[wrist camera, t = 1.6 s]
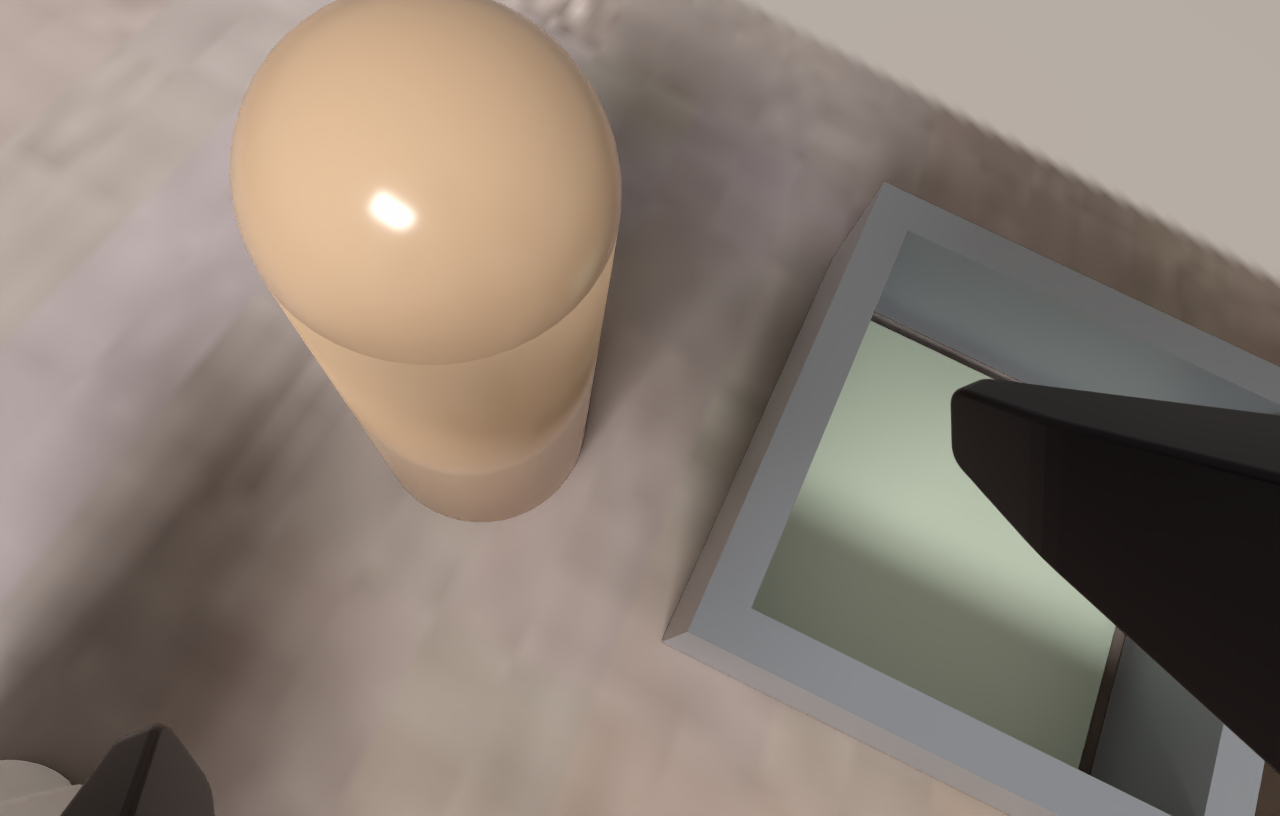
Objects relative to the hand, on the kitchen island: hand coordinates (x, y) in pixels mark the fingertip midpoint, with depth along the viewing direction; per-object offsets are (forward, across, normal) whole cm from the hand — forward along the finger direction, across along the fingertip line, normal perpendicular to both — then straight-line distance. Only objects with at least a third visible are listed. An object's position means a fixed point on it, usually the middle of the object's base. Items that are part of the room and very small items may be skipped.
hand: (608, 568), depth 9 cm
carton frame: (+5, -14, +13) cm, 20 cm away
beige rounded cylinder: (+13, 0, +5) cm, 14 cm away
